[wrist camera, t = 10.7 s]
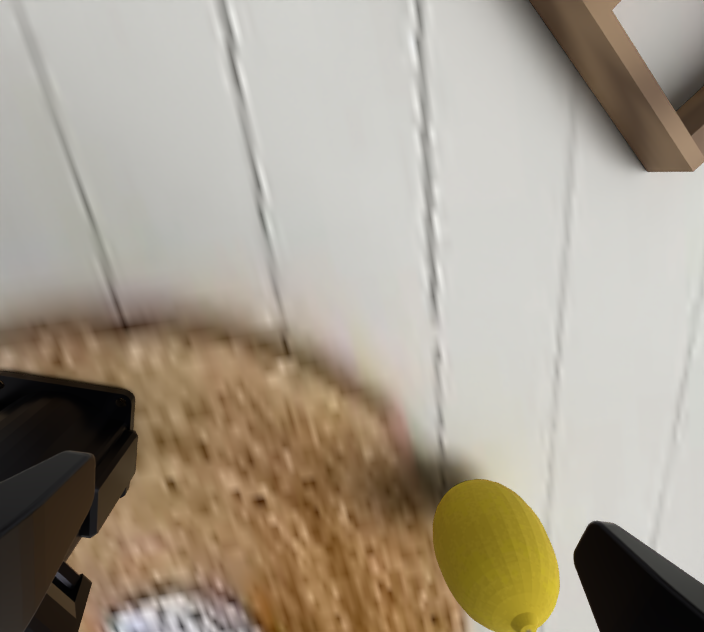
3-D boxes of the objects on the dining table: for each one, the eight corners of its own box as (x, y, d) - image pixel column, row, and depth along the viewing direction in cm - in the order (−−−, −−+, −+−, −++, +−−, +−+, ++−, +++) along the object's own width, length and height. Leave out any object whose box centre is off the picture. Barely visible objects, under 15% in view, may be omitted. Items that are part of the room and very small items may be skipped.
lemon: (425, 448, 23) (477, 583, 15) (518, 451, 23) (613, 583, 16) (411, 523, 24) (451, 677, 17) (498, 524, 25) (574, 675, 18)
